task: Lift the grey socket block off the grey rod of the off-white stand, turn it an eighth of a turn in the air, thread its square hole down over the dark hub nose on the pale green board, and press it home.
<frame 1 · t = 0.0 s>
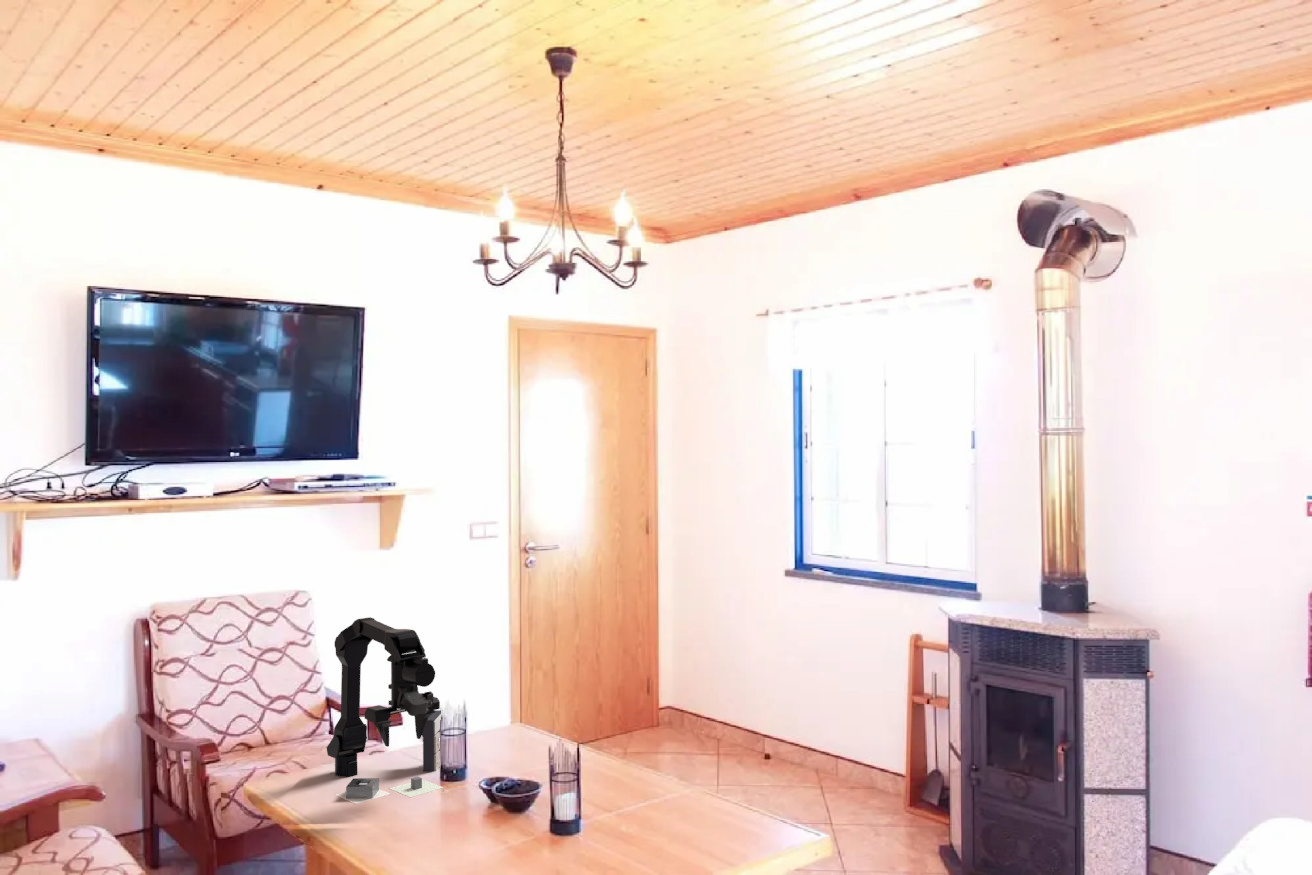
hand: (403, 742, 257), 15 cm above the table, tool pointing down, fingers open, 9 cm apart
calculator: (433, 769, 282), on the table
grey socket block: (362, 794, 258), point 1 cm above the table, touching plate stand
plate stand: (362, 798, 258), on the table
hub board: (416, 791, 263), on the table
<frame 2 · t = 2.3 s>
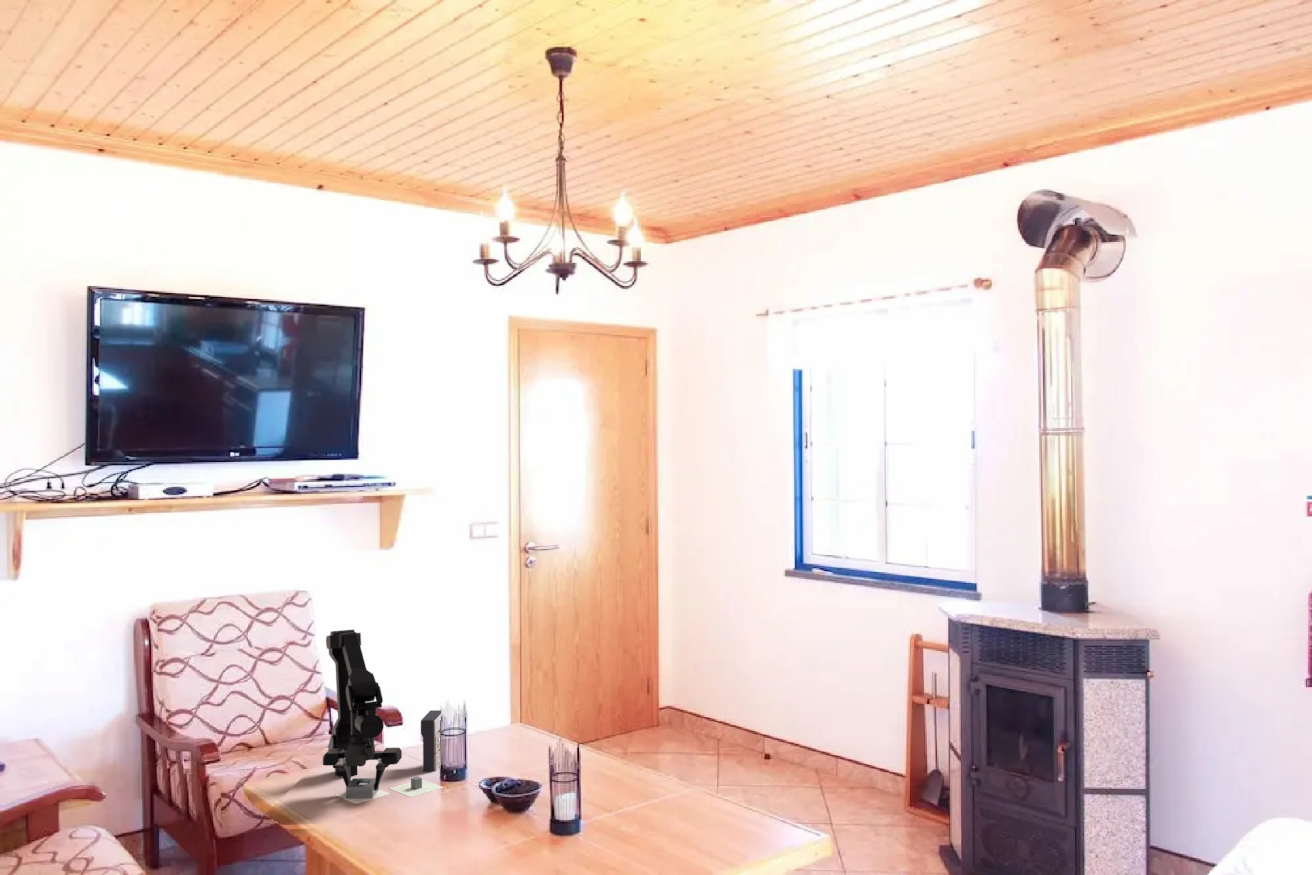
hand: (362, 790, 258), 2 cm above the table, tool pointing down, fingers closed on grey socket block, 7 cm apart
grey socket block: (362, 794, 258), point 1 cm above the table, touching gripper, plate stand
everything else where it was.
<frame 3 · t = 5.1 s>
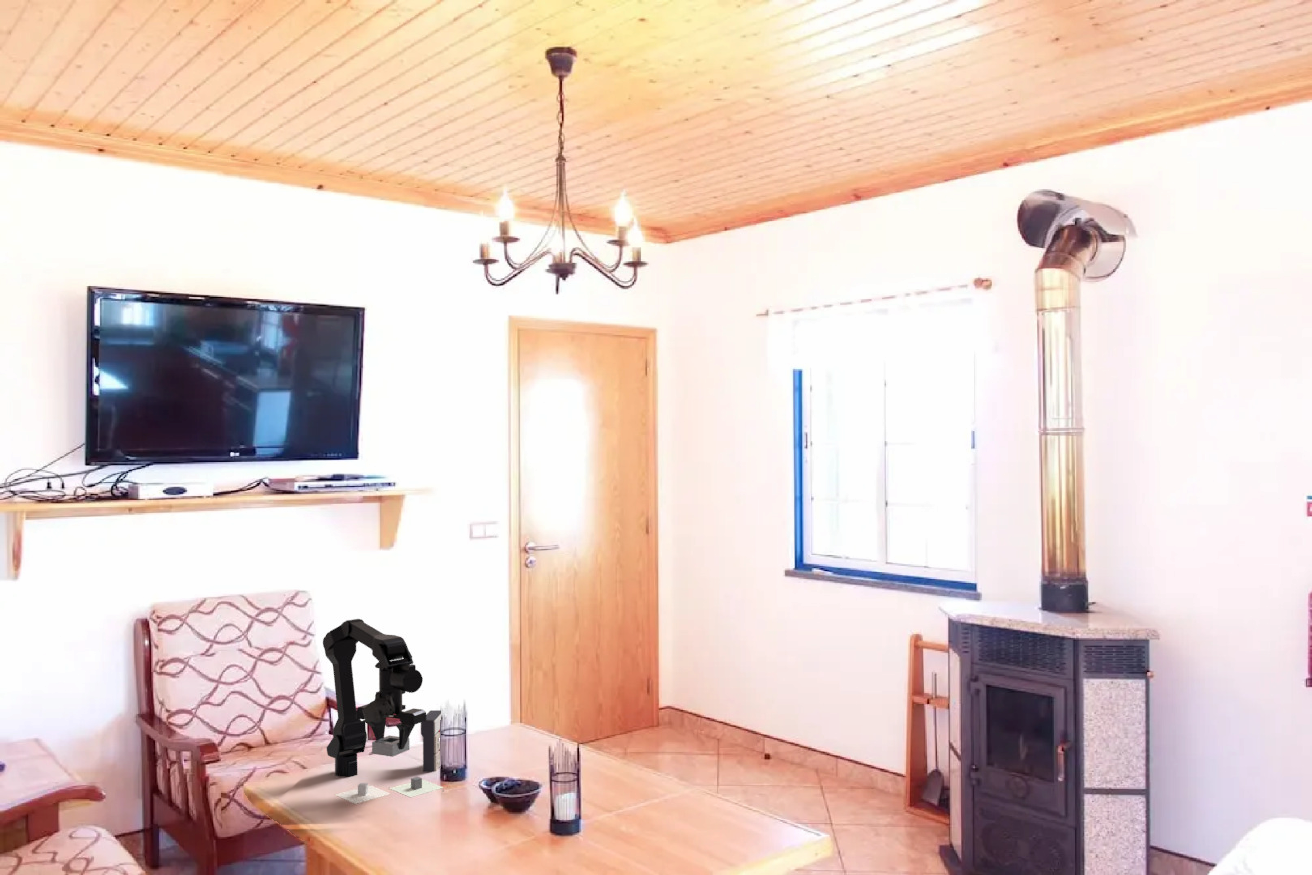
hand: (391, 747, 261), 12 cm above the table, tool pointing down, fingers closed on grey socket block, 7 cm apart
grey socket block: (390, 751, 261), point 11 cm above the table, touching gripper
everything else where it was.
when the fingers open (3 cm above the table, at t = 8.3 s): grey socket block stays where it is, resting on hub board.
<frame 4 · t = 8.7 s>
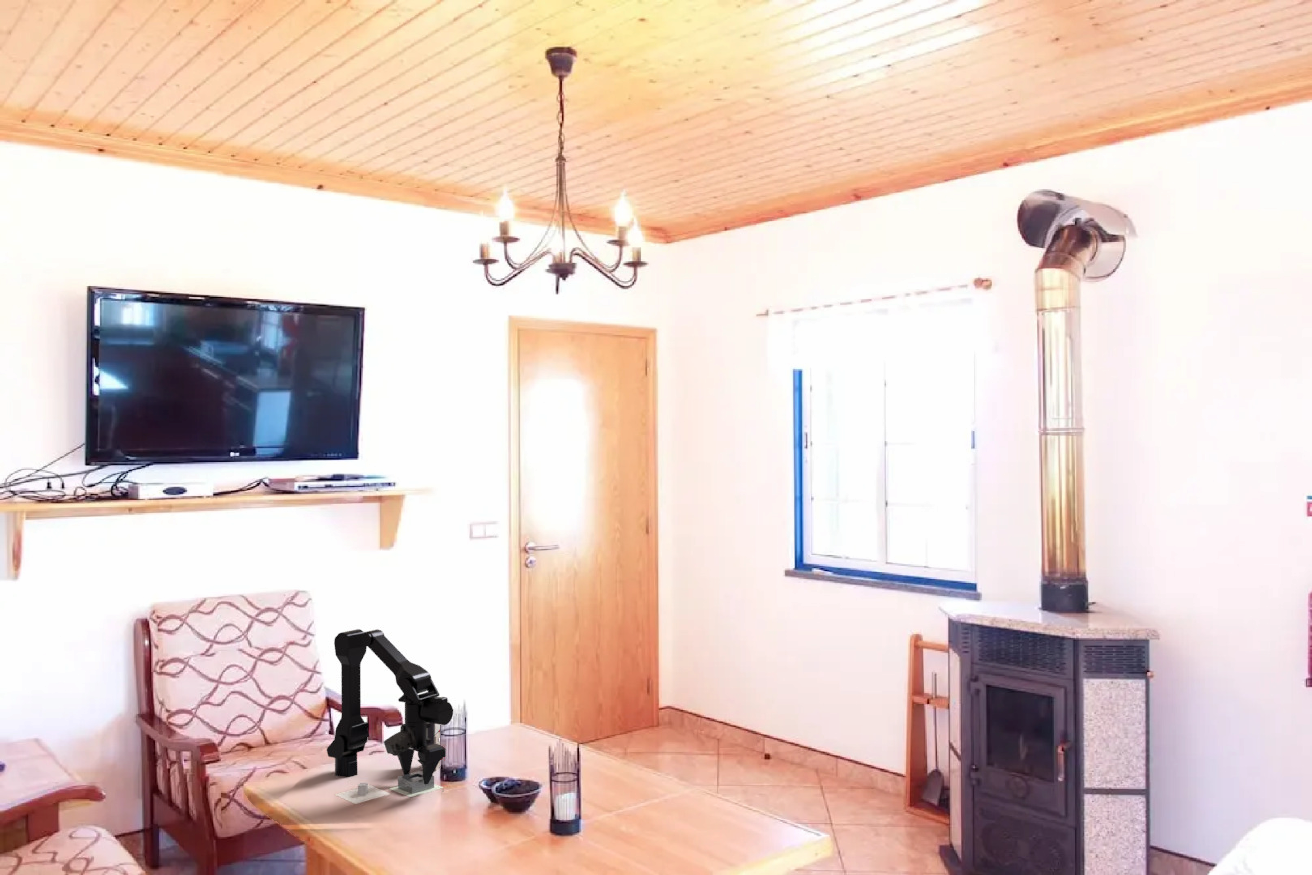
hand: (416, 780, 263), 3 cm above the table, tool pointing down, fingers open, 9 cm apart
grey socket block: (416, 787, 263), point 1 cm above the table, touching hub board
everything else where it was.
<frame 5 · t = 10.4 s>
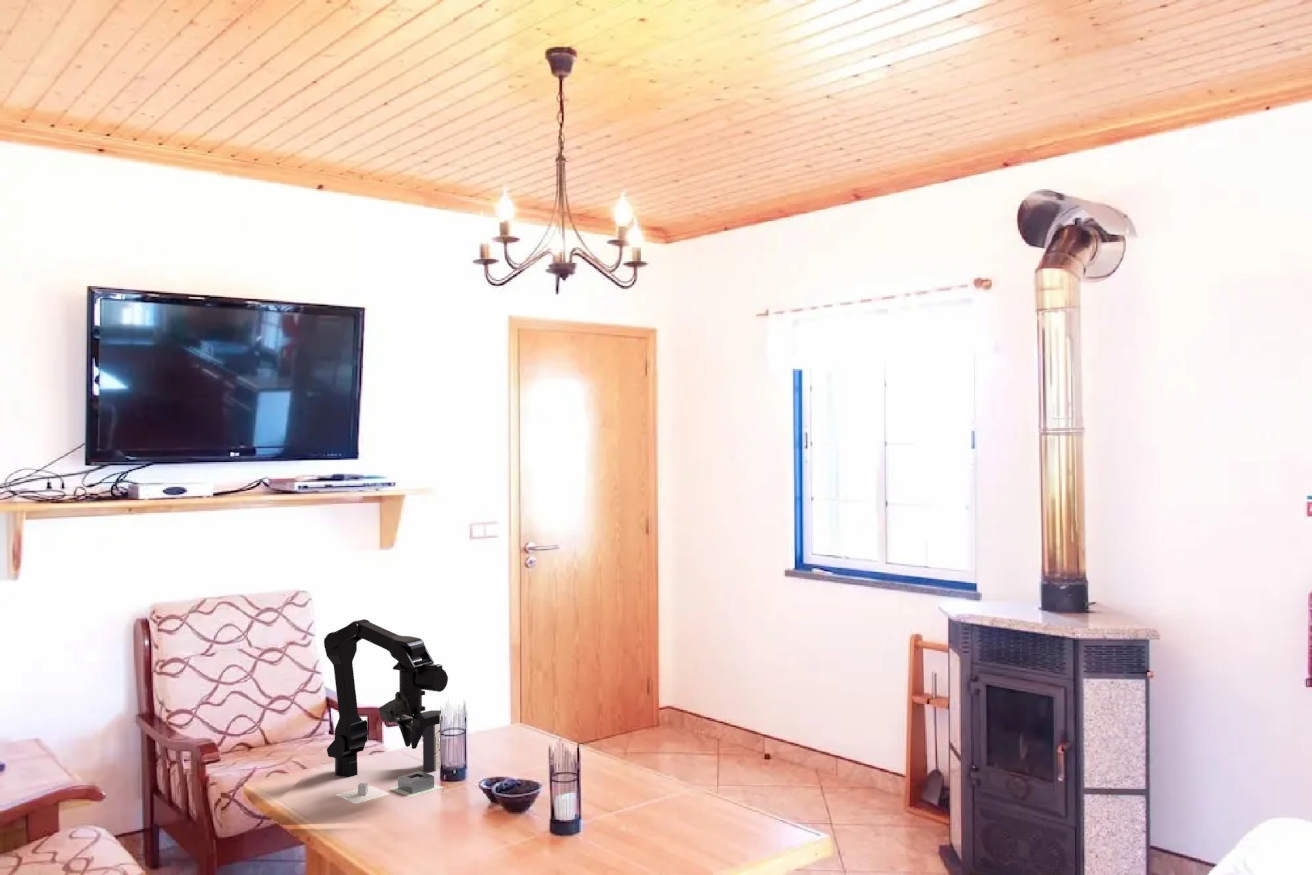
hand: (410, 747, 265), 11 cm above the table, tool pointing down, fingers open, 3 cm apart
nothing on the table moved.
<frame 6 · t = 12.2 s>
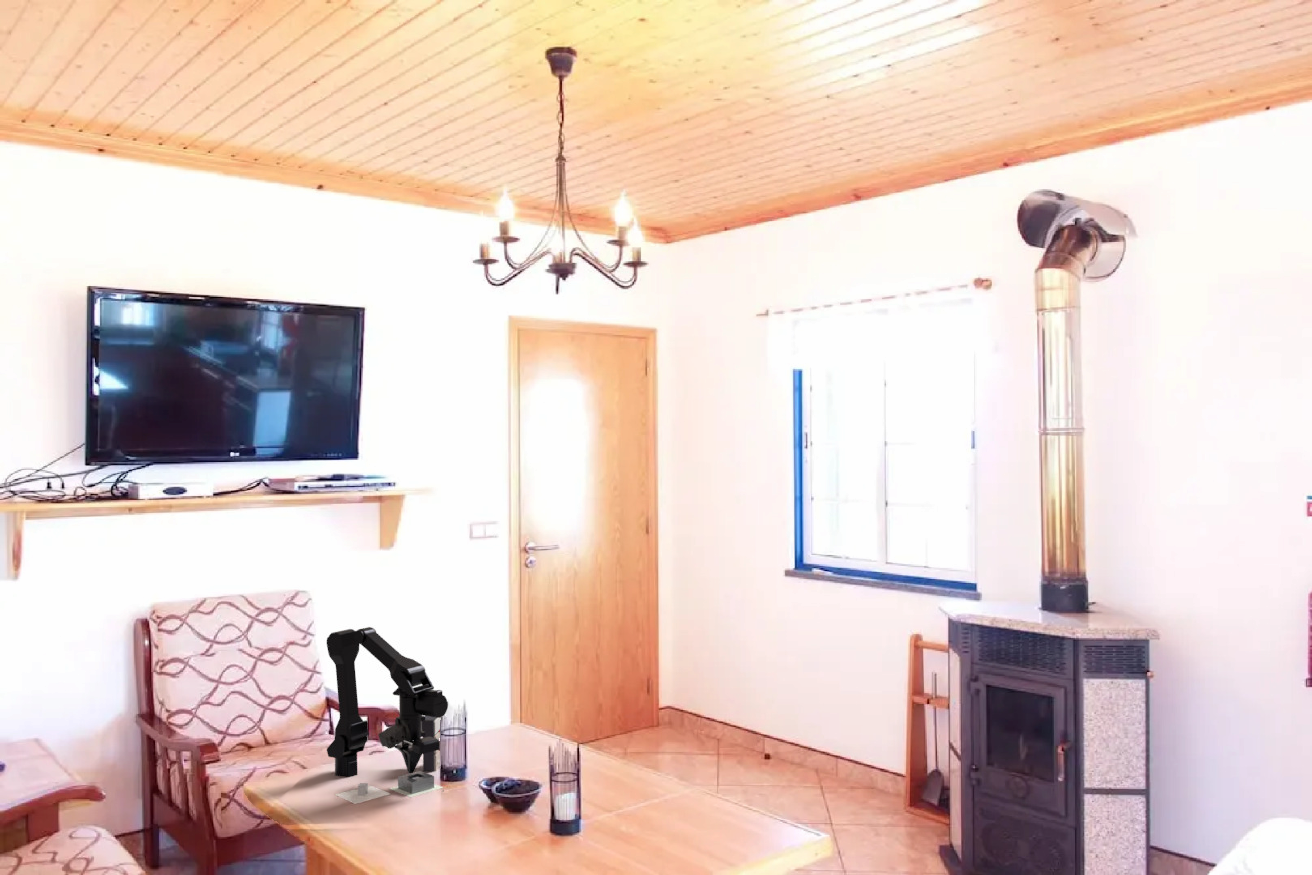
hand: (410, 772, 265), 4 cm above the table, tool pointing down, fingers closed
nothing on the table moved.
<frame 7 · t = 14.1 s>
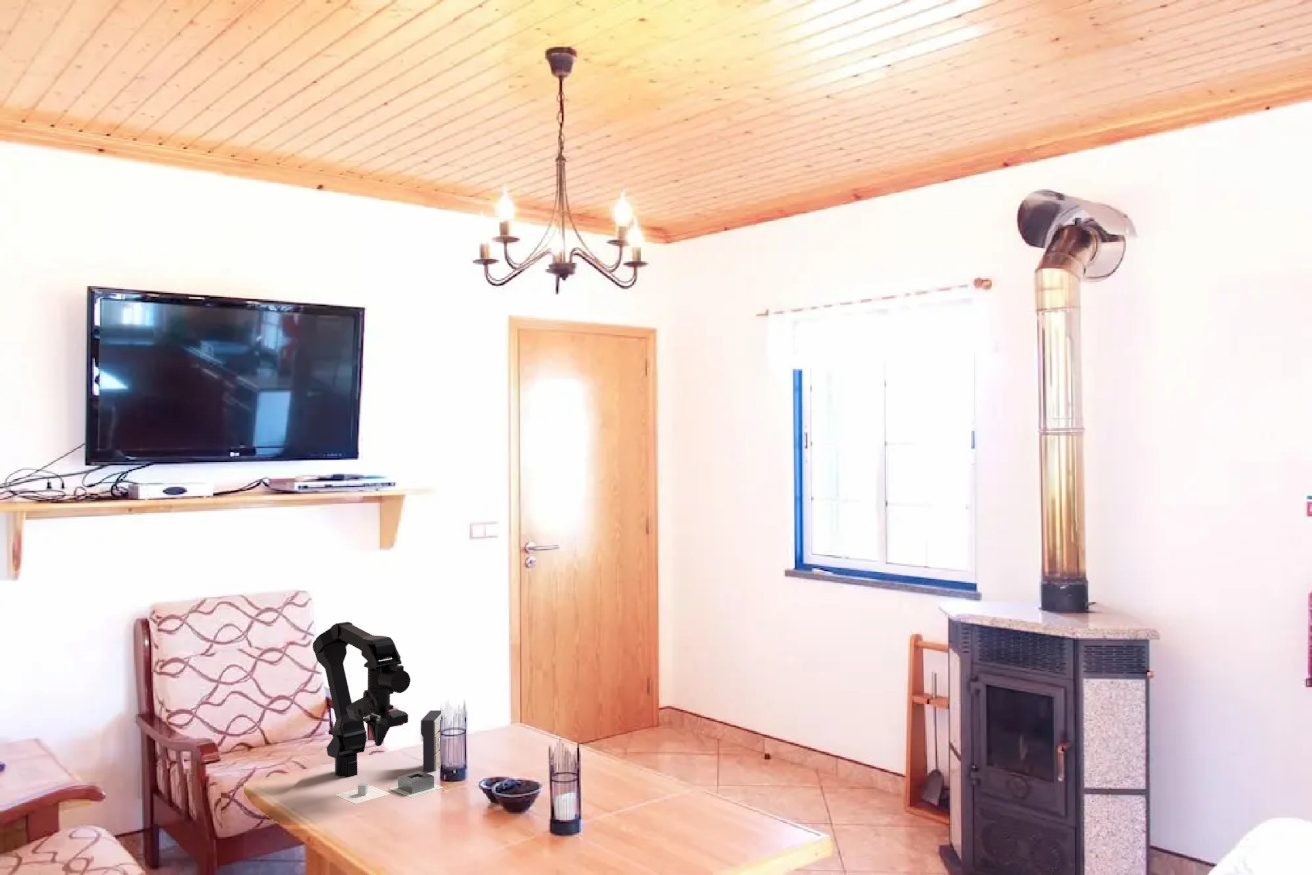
hand: (378, 745, 265), 11 cm above the table, tool pointing down, fingers closed
nothing on the table moved.
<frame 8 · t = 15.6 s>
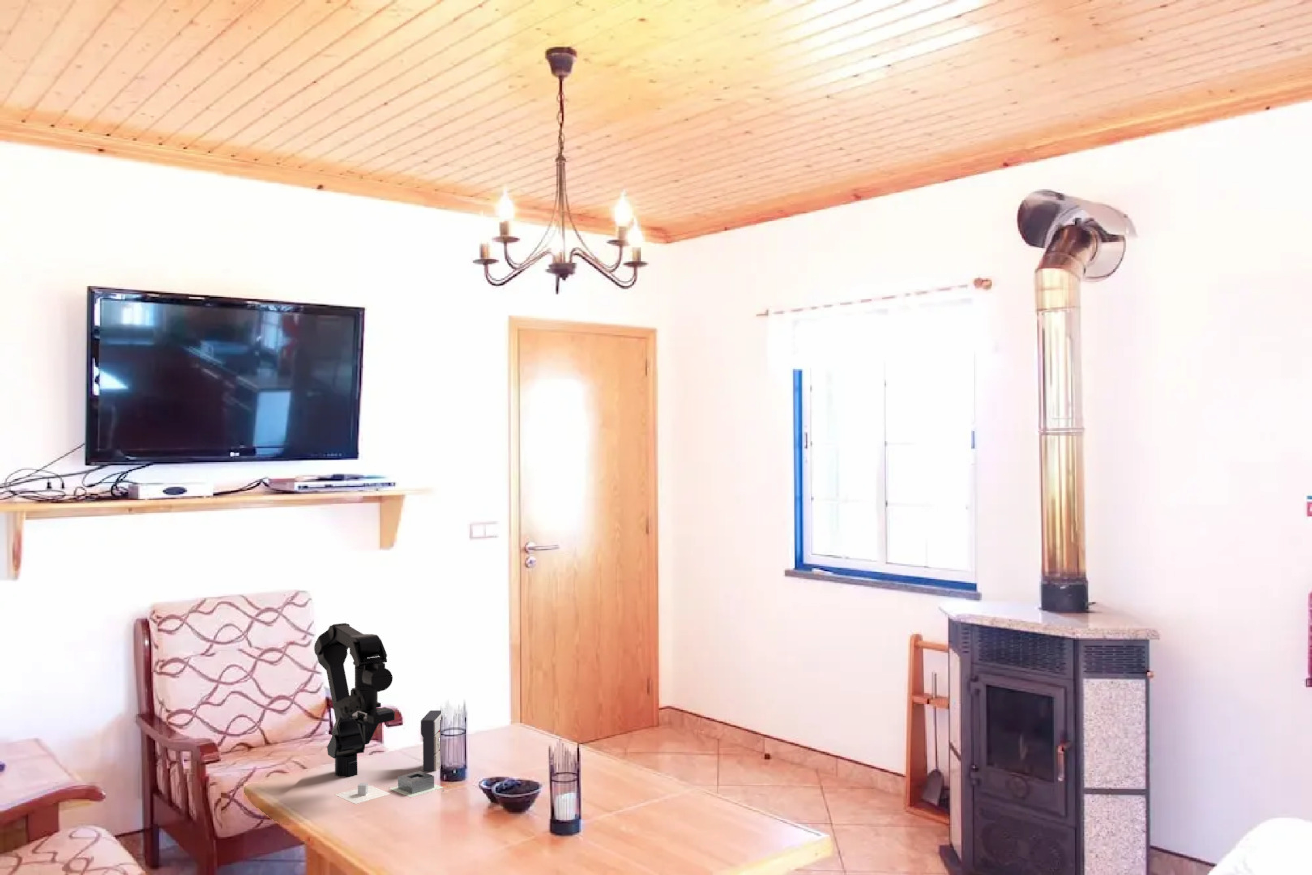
hand: (366, 743, 265), 12 cm above the table, tool pointing down, fingers closed
nothing on the table moved.
at the end: grey socket block 0.1 cm off-centre on the hub board, point 1.0 cm above the hub board's base; grey socket block tilted 0°; the gripper is holding nothing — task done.
